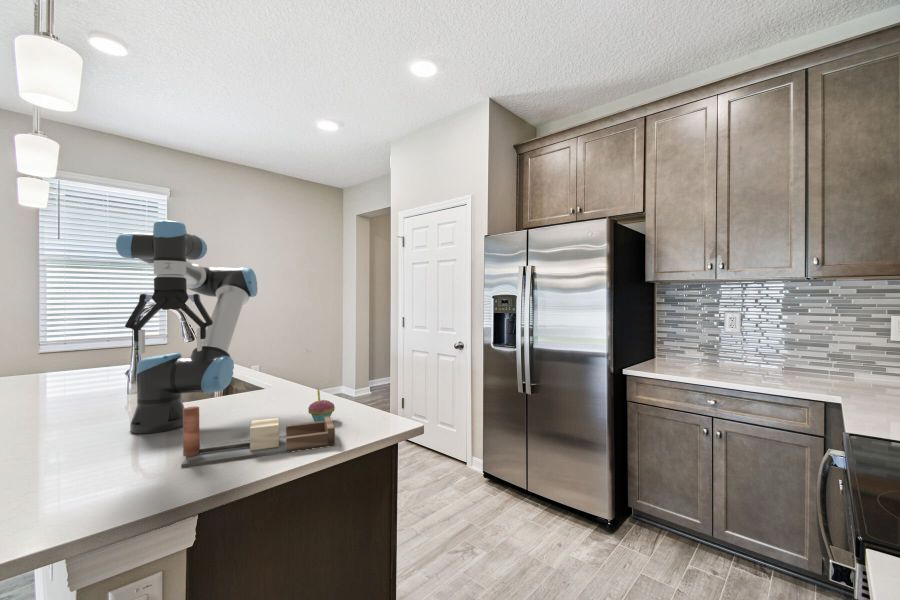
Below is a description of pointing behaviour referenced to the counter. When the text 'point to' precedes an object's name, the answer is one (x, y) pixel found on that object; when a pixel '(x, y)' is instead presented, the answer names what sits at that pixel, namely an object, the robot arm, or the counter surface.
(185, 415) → the rod with end block
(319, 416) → the cupcake
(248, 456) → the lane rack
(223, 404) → the counter surface
